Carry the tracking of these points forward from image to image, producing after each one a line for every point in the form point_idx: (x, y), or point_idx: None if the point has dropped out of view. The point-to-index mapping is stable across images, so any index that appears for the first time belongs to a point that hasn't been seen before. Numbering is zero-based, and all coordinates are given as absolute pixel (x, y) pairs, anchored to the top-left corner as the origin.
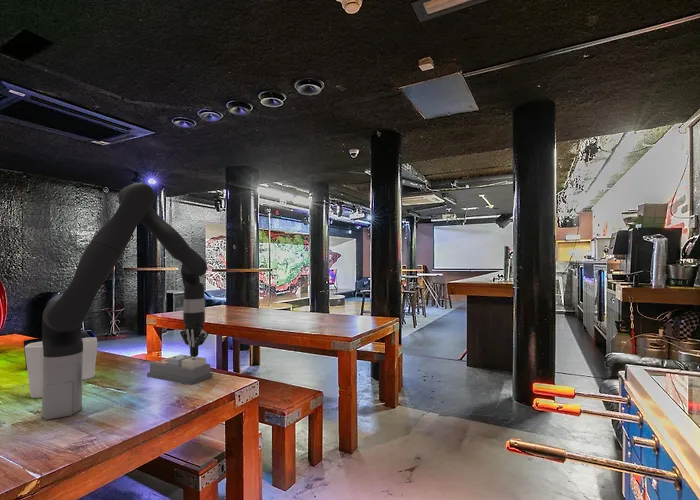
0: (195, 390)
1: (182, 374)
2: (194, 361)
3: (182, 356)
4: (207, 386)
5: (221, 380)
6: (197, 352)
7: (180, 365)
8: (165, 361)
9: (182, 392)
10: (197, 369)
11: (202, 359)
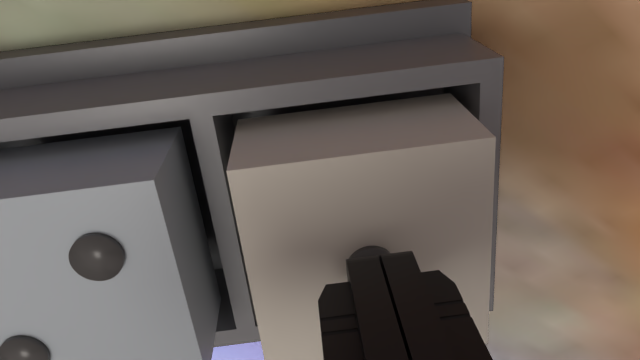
0: (590, 294)
1: None
2: (487, 323)
3: (56, 270)
4: (619, 201)
5: (636, 29)
6: (464, 316)
7: (211, 299)
8: None
9: (529, 355)
10: (492, 248)
11: (490, 198)
